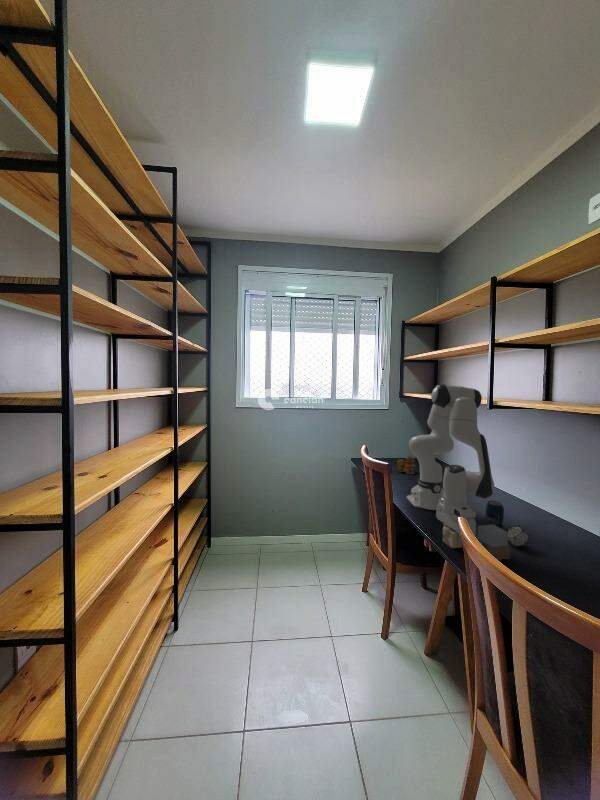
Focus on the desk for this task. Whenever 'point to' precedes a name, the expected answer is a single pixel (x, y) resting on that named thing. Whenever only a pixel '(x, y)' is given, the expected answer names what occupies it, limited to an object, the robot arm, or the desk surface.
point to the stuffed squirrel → (406, 465)
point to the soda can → (494, 514)
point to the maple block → (451, 537)
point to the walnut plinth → (498, 551)
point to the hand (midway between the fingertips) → (454, 538)
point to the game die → (517, 536)
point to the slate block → (492, 535)
